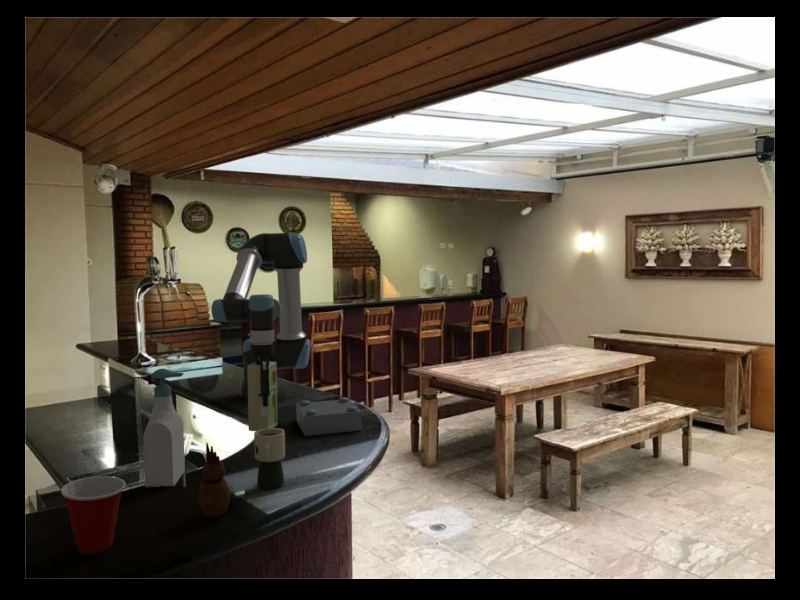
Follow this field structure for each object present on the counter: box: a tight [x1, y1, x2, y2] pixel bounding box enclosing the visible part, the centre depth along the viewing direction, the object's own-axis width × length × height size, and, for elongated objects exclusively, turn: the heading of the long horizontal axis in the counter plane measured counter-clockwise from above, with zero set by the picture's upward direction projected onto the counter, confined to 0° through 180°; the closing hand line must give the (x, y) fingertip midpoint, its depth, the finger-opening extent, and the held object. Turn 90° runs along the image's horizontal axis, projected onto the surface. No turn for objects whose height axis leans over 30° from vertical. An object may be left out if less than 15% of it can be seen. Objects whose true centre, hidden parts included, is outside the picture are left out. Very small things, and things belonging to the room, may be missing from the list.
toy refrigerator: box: [247, 362, 278, 432], centre depth 189 cm, size 8×7×21 cm
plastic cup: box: [60, 475, 127, 555], centre depth 110 cm, size 11×11×12 cm
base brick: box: [295, 396, 363, 437], centre depth 191 cm, size 18×18×7 cm
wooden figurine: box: [198, 442, 231, 518], centre depth 124 cm, size 7×6×15 cm
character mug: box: [253, 427, 286, 489], centre depth 140 cm, size 11×7×13 cm, turn 4°
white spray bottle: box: [142, 368, 186, 488], centre depth 145 cm, size 11×8×27 cm
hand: (263, 412), depth 189 cm, fingers closed on toy refrigerator, 10 cm apart
